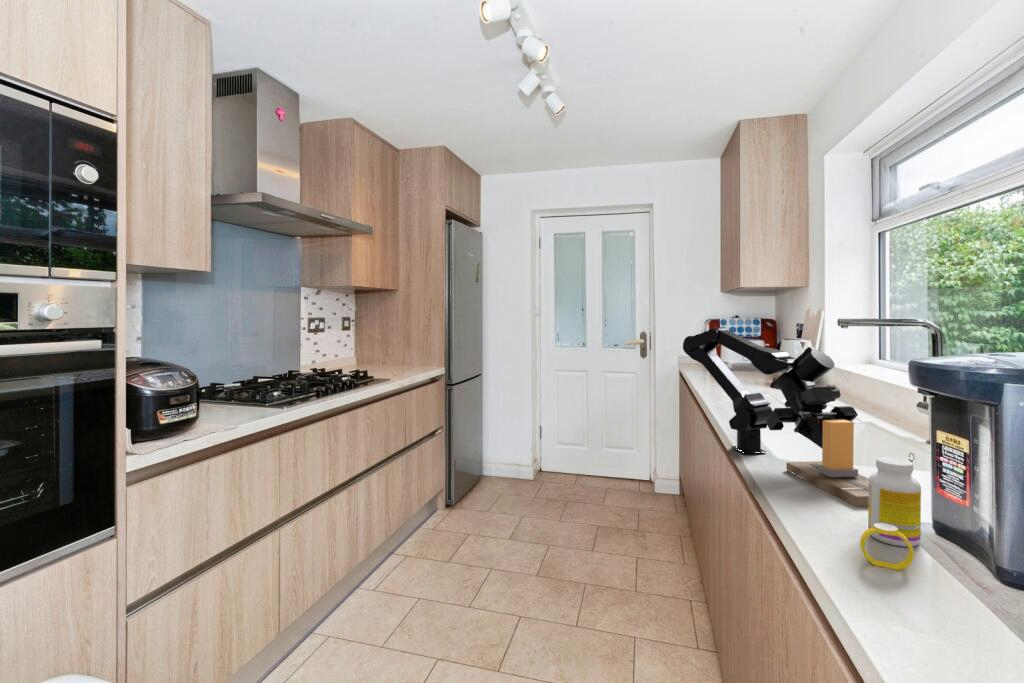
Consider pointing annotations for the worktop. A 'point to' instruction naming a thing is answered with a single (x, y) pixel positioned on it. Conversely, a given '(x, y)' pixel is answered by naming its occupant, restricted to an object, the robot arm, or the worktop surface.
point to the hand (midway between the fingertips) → (828, 450)
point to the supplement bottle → (895, 501)
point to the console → (834, 483)
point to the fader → (838, 449)
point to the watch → (887, 530)
